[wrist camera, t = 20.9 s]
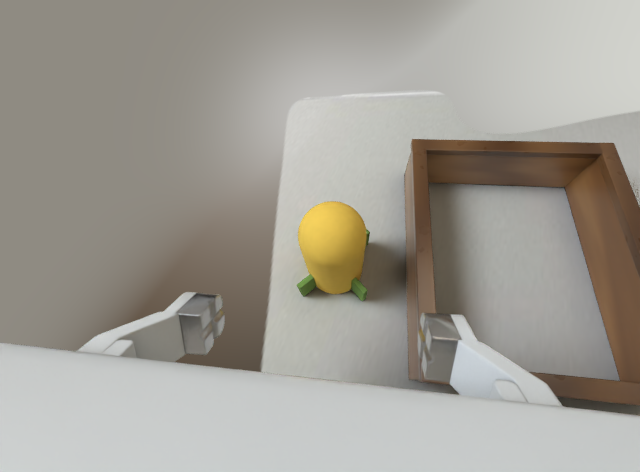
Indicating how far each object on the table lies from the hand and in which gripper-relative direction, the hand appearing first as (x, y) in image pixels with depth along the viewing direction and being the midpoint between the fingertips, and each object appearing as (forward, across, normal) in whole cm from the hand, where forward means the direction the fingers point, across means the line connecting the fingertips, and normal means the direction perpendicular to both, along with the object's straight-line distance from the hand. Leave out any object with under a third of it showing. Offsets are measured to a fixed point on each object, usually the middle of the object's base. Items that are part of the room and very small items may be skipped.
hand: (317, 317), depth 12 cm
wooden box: (+13, -13, +3) cm, 19 cm away
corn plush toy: (+12, 0, +4) cm, 13 cm away
